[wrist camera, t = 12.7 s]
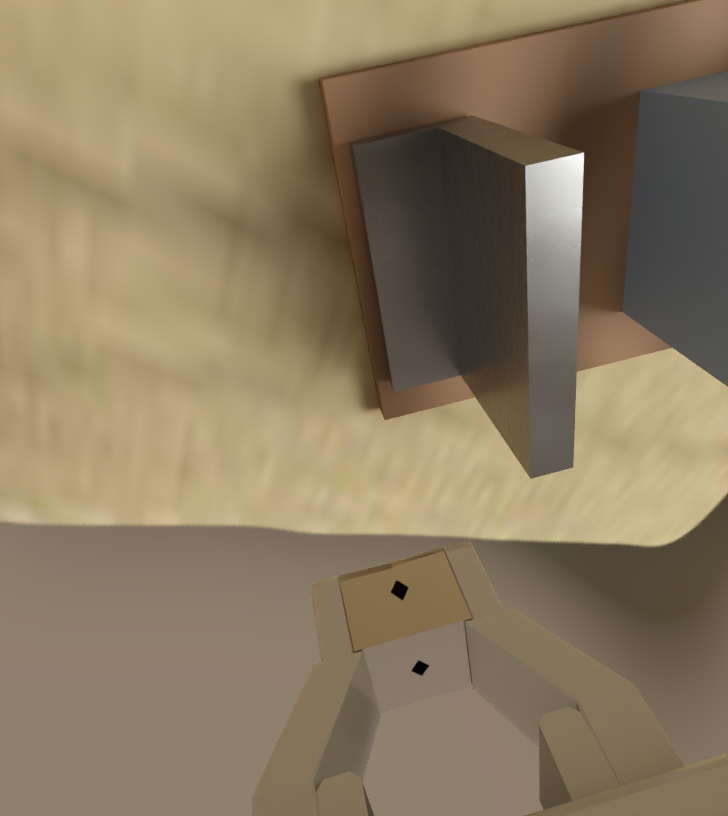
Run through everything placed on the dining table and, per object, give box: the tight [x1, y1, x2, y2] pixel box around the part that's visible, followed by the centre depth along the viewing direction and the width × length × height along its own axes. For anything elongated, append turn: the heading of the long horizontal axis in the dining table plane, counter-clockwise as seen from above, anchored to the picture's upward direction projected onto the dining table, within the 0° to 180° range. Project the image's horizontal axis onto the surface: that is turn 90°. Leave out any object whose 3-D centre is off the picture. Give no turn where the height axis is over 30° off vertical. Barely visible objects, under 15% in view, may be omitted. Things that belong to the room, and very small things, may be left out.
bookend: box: [349, 115, 584, 478], centre depth 20 cm, size 4×10×8 cm, turn 10°
